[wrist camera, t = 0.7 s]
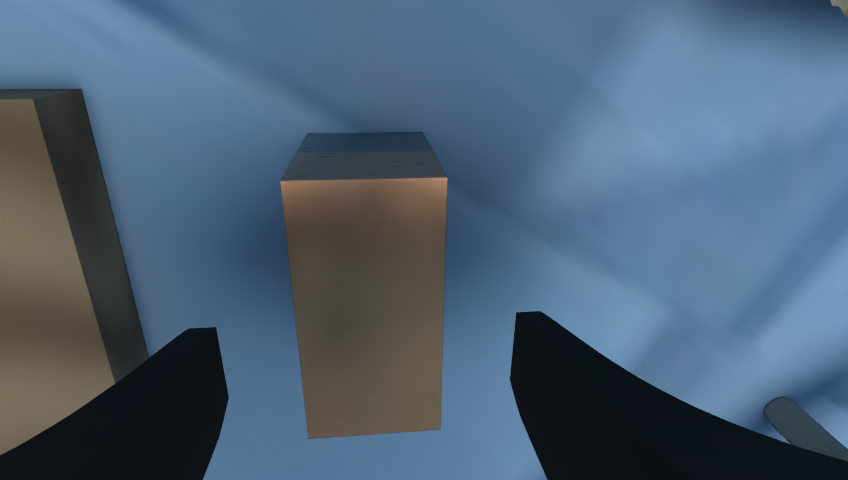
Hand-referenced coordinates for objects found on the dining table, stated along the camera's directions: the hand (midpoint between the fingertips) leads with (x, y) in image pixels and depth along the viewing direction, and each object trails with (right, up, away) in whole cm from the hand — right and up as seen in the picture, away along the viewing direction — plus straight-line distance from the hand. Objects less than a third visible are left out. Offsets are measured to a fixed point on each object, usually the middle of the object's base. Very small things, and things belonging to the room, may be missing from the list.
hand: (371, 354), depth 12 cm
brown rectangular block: (-1, +3, +7) cm, 8 cm away
